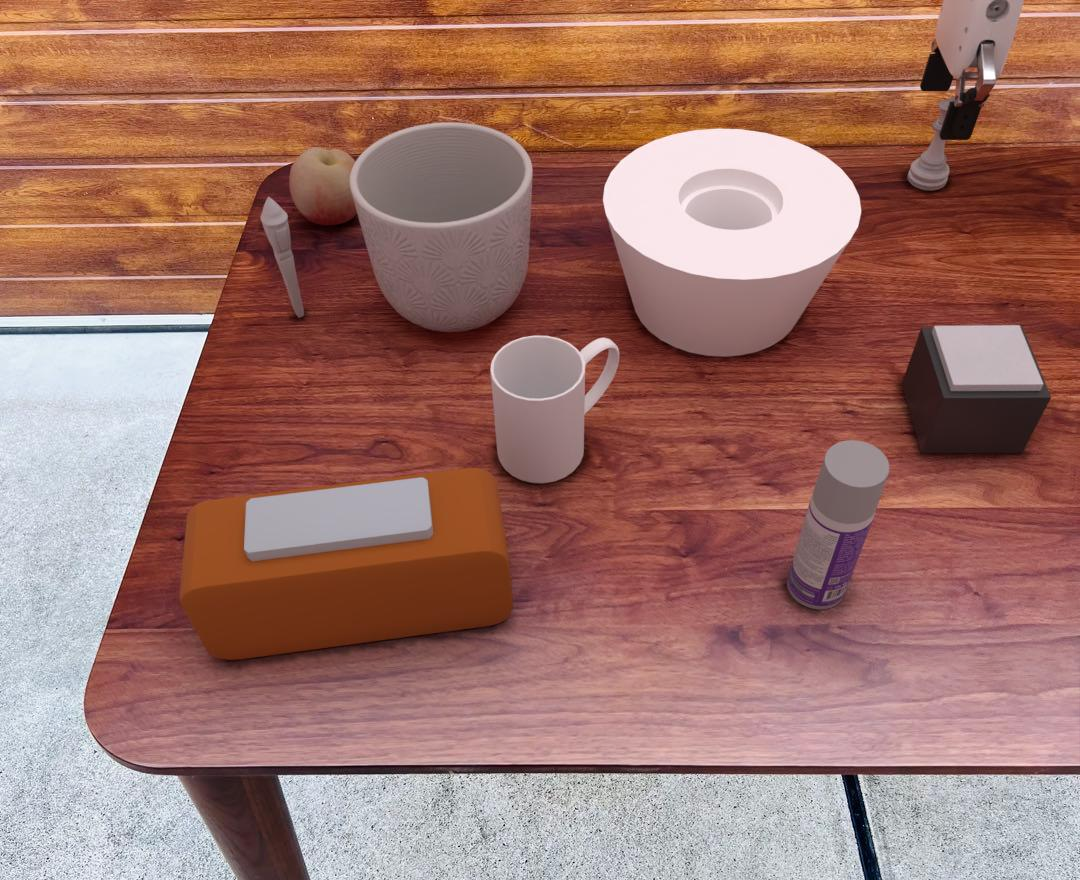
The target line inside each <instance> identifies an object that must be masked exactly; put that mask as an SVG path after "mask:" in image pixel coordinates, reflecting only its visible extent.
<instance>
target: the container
mask: <svg viewBox="0 0 1080 880" xmlns="http://www.w3.org/2000/svg"><path fill="white" fill-rule="evenodd" d="M889 474H890V462H889V460H888V457H887V456H886V455H885V453H884V452H883V451H882V450H880V448H878V447H877V446H875V445H873V444H871V443H869V442H866V441H862V440H855V439H852V440H851V439H849V440H842V441H839V442H837V443H834V444H833V445H831V446H830V447H829V448H828V449H827V451H826V453H825V455H824V458H823V462H822V464H821V467H820V470H819V473H818V476H817V479H816V481H815V484H814V488H813V491H812V493H811V497H810V499H809V503H808V506H807V510H806V514H805V516H804V520H803V524H802V526H801V529H800V533H799V536H798V537H799V538H798V541H797V544H796V547H795V551H794V553H793V554H794V555H793V557H792V561H791V564H790V568H789V571H788V576H787V580H786V586H787V590H788V592H789V594H790V595H791V597H792V598H793V599H794V600H795V601H796V602H797V603H799V604H800V605H802V606H804V607H806V608H809V609H813V610H828V609H831V608H833V607H835V606H837V605H838V604H839V603H841V602H842V600H843V598H844V597H845V594H846V592H847V589H848V586H849V584H850V581H851V579H852V576H853V574H854V570H855V568H856V565H857V563H858V560H859V558H860V555H861V552H862V550H863V547H864V544H865V542H866V539H867V537H868V534H869V532H870V529H871V526H872V524H873V521H874V518H875V515H876V512H877V509H878V506H879V503H880V500H881V497H882V495H883V492H884V488H885V485H886V482H887V479H888V476H889Z"/></svg>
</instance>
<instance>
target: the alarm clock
mask: <svg viewBox="0 0 1080 880" xmlns="http://www.w3.org/2000/svg"><path fill="white" fill-rule="evenodd" d="M185 521H186V522H185V531H184V542H183V543H184V544H183V553H182V554H183V555H182V565H181V574H180V575H181V576H180V587H179V602H180V605H181V608H182V609H183V611H184V614H185V615H186V616H187V619H188V621H189V622H190V624H191V625H192V627H193V630H194V631H195V633H196V634H197V637H198V638H199V640H200V642H201V644H202V645H203V647H204V650H205V651H207V652H208V653H209V655H211V656H213V657H215V658H217V659H222V660H227V661H231V660H232V661H234V660H235V661H236V660H245V659H252V658H260V657H267V656H274V655H281V654H282V655H283V654H289V653H296V652H305V651H311V650H319V649H327V648H335V647H342V646H349V645H356V644H364V643H372V642H379V641H386V640H393V639H400V638H408V637H415V636H416V637H417V636H423V635H431V634H439V633H447V632H454V631H462V630H467V629H475V628H483V627H489V626H494V625H498V624H501V623H502V622H504V621H506V620H507V619H508V618H509V617H510V615H511V614H512V612H513V609H514V598H513V586H512V575H511V573H512V572H511V564H510V555H509V548H508V541H507V536H506V530H505V524H504V517H503V510H502V503H501V497H500V489H499V485H498V481H497V480H496V477H495V476H494V475H493V474H492V473H490V472H489V471H488V470H487V469H482V468H479V467H466V468H465V467H464V468H458V469H448V470H442V471H441V470H440V471H434V472H433V471H432V472H425V473H416V474H409V475H401V476H393V477H385V478H375V479H369V480H361V481H360V480H359V481H351V482H344V483H336V484H328V485H321V486H320V485H319V486H312V487H304V488H295V489H288V490H280V491H271V492H264V493H256V494H248V495H247V494H246V495H240V496H238V495H237V496H231V497H230V496H229V497H223V498H215V499H207V500H204V501H200V502H197V503H196V504H195V505H193V506H191V508H190V509H189V511H188V513H187V515H186V520H185Z"/></svg>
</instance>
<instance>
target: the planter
mask: <svg viewBox="0 0 1080 880" xmlns="http://www.w3.org/2000/svg"><path fill="white" fill-rule="evenodd" d="M533 171H534V169H533V164H532V161H531V158H530V156H529V153H528V152H527V151H526V150H525V148H524V147H523V146H522V145H521V144H520V143H519V142H518V141H517V140H516V139H514V138H513V137H511V136H509V135H508V134H505V133H503V132H502V131H498V130H497V129H495V128H494V129H493V128H492V127H488V126H484V125H481V124H480V125H479V124H474V123H467V122H455V121H451V122H448V121H447V122H445V121H443V122H442V121H441V122H433V123H425V124H419V125H414V126H411V127H405V128H403V129H401V130H397V131H395V132H392V133H389V134H388V135H386V136H384V137H381V138H380V139H378V140H377V141H375V142H374V143H372V144H371V145H370V146H368V147H367V148H366V149H365V150H364V151H362V153H361V154H360V155H359V156H358V157H357V159H356V160H355V163H354V165H353V168H352V170H351V173H350V181H349V182H350V190H351V193H352V197H353V200H354V204H355V207H356V211H357V213H356V215H357V218H358V221H359V225H360V228H361V232H362V235H363V239H364V243H365V247H366V250H367V253H368V257H369V261H370V264H371V267H372V270H373V274H374V277H375V280H376V283H377V285H378V287H379V289H380V291H381V293H382V294H383V297H384V298H385V299H386V300H387V302H388V304H389V305H390V306H391V308H393V309H394V310H395V311H396V313H397V314H399V315H400V316H401V317H402V318H404V319H405V320H407V321H409V322H410V323H412V324H414V325H416V326H418V327H421V328H424V329H426V330H430V331H434V332H440V333H461V332H467V331H472V330H475V329H478V328H481V327H484V326H485V325H488V324H490V323H492V322H493V321H496V319H498V318H499V317H501V316H502V315H503V314H504V313H505V312H507V310H508V309H509V308H511V306H512V305H513V304H514V303H515V301H516V300H517V298H518V296H519V294H520V292H521V291H522V288H523V286H524V283H525V281H526V278H527V274H528V268H529V259H530V242H531V241H530V240H531V221H532V220H531V219H532V218H531V217H532V198H533V197H532V196H533V177H534V176H533V174H534V172H533Z"/></svg>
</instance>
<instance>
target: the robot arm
mask: <svg viewBox="0 0 1080 880" xmlns="http://www.w3.org/2000/svg"><path fill="white" fill-rule="evenodd" d="M1024 1H1025V0H942V4H941V8H940V11H939V14H938V19H937V22H936V25H935V31H934V32H935V33H934V35H935V38H933V40H932V42H931V46H930V52H931V53H929V55H928V58H927V62H926V65H925V68H924V72H923V74H922V78H921V80H920V81H921V82H920V85H919V89H920V91H922V92H947V91H949V90H950V89H951V86H952V83H953V80H954V79H955V89H954V98H955V99H954V102H950V104H949V107H948V110H947V113H946V116H945V119H944V122H943V125H942V128H941V131H940V134H939V136H940V138H941V140H946V141H968V140H970V139H971V137H972V136H973V132H974V129H975V127H976V124H977V121H978V119H979V115H980V113H981V110H982V108H983V107H984V106H985V104H986V102H987V100H988V98H989V97H990V95H991V94H990V93H991V91H993V89H994V87H995V85H996V83H997V80H998V79H999V78H1000V77H1001V76H1002V74H1003V71H1004V68H1005V66H1006V62H1007V59H1008V56H1009V53H1010V51H1011V47H1012V44H1013V41H1014V37H1015V34H1016V31H1017V28H1018V24H1019V21H1020V17H1021V14H1022V9H1023V5H1024ZM968 68H970V69H973V68H974V69H975V68H977V71H966V70H968ZM966 82H975V84H974V87H970V88H968V90H966ZM965 90H966V91H965Z"/></svg>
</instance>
